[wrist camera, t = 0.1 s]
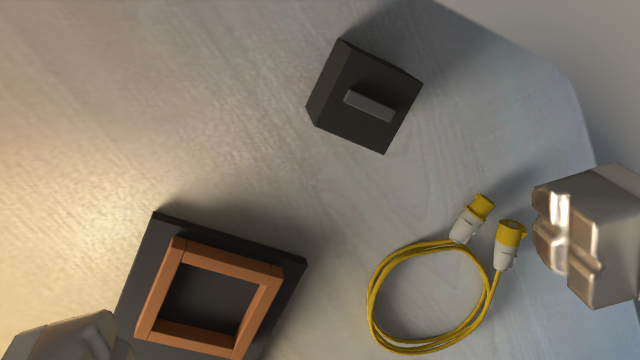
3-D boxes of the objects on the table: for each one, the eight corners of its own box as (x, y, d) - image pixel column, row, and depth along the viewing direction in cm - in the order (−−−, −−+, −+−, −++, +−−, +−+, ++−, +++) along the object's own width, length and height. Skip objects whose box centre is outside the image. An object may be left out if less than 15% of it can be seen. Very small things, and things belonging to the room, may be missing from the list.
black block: (304, 107, 31) (314, 128, 27) (337, 37, 30) (353, 49, 26) (368, 134, 33) (386, 158, 29) (402, 69, 31) (426, 85, 27)
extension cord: (549, 270, 41) (563, 284, 40) (405, 365, 44) (412, 383, 42) (490, 177, 36) (504, 188, 34) (330, 290, 38) (334, 307, 37)
